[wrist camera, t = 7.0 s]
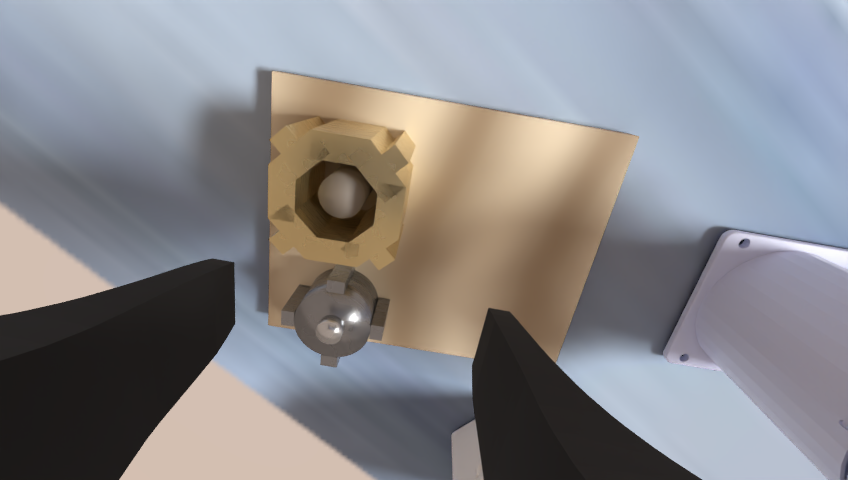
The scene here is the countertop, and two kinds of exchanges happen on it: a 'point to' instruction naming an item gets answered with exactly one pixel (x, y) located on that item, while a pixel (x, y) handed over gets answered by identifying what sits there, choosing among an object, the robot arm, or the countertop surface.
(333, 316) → the gear
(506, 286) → the gear board
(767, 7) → the countertop surface
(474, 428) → the jar
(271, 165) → the brass gear
